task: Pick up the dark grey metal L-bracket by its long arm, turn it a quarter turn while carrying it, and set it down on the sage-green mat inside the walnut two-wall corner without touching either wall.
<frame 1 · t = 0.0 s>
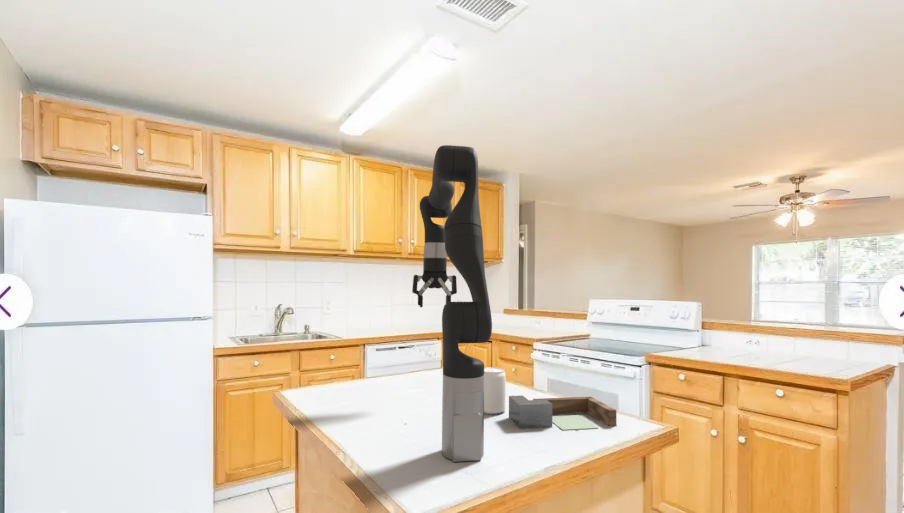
hand: (434, 307, 143), 29 cm above the counter, fingers open, 8 cm apart
bracket: (533, 425, 117), on the counter
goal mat: (571, 422, 120), on the counter
beverage can: (491, 411, 130), on the counter
wooden corner fixture: (573, 419, 123), on the counter
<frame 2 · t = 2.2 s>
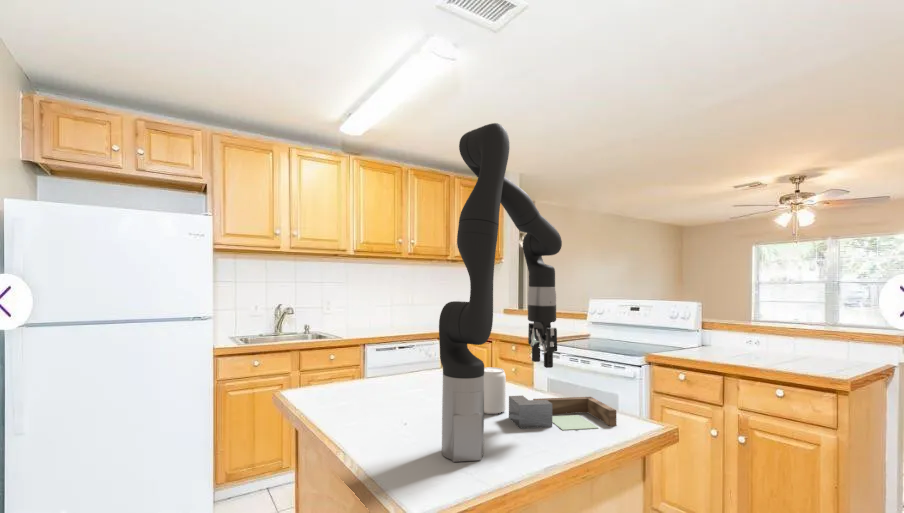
hand: (541, 364, 119), 16 cm above the counter, fingers open, 8 cm apart
nothing on the counter moved.
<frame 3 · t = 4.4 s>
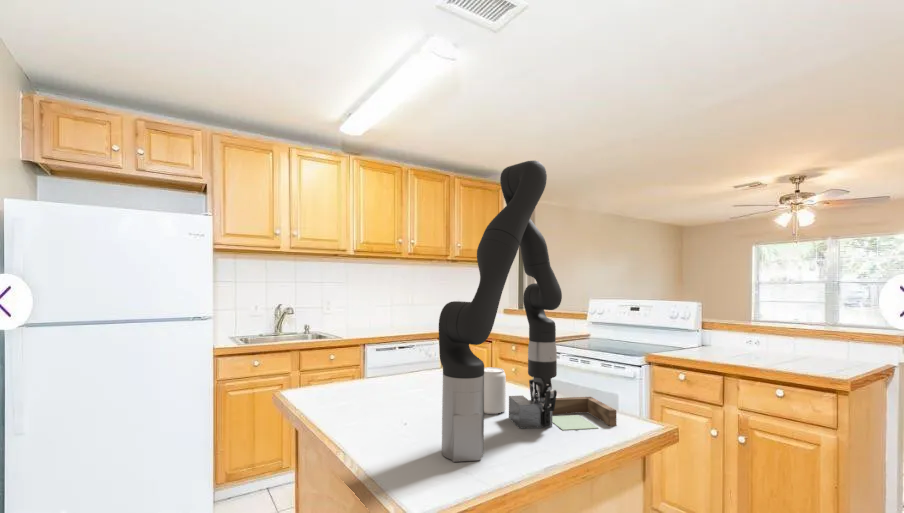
hand: (542, 422, 118), 0 cm above the counter, fingers closed on bracket, 4 cm apart
bracket: (533, 425, 117), on the counter, touching gripper
everything else where it was.
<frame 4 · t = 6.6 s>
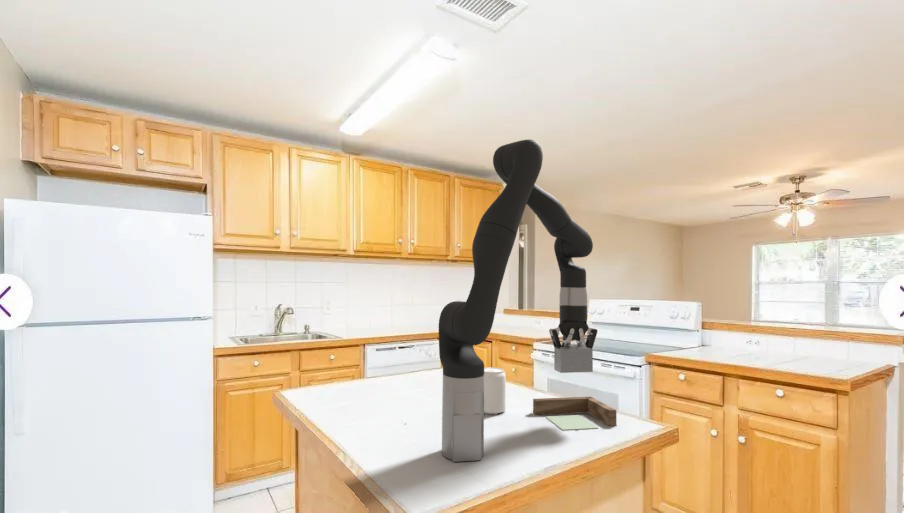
hand: (573, 365, 124), 15 cm above the counter, fingers closed on bracket, 4 cm apart
bracket: (577, 368, 121), point 14 cm above the counter, touching gripper
everything else where it was.
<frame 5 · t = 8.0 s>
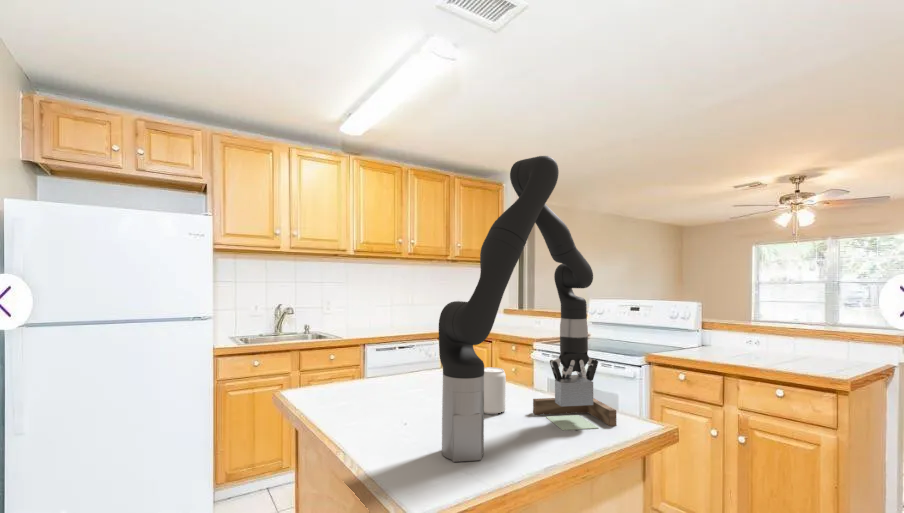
hand: (574, 396, 123), 6 cm above the counter, fingers closed on bracket, 4 cm apart
bracket: (578, 400, 121), point 6 cm above the counter, touching gripper
everything else where it was.
when the fingers open (2 cm above the counter, at t = 9.1 s): bracket drops 2 cm, resting on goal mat.
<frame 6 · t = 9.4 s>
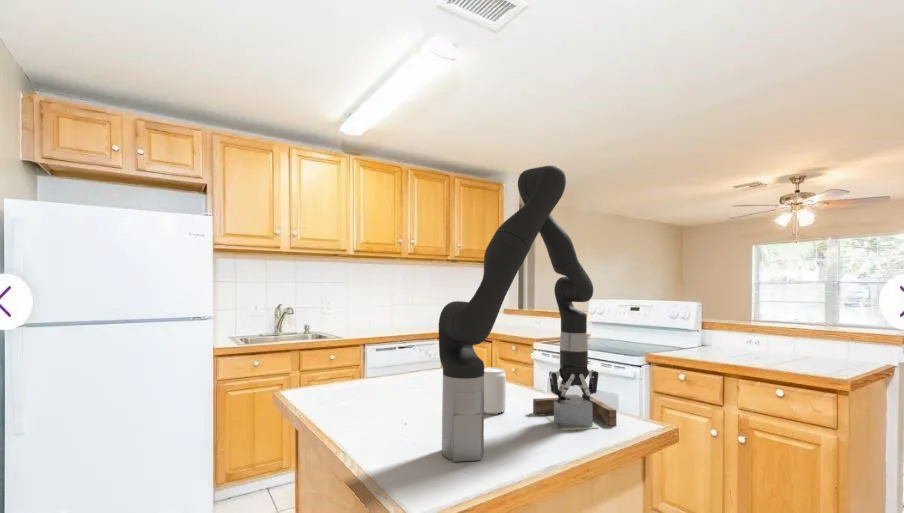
hand: (573, 409, 123), 3 cm above the counter, fingers open, 6 cm apart
bracket: (577, 421, 120), resting on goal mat
everything else where it was.
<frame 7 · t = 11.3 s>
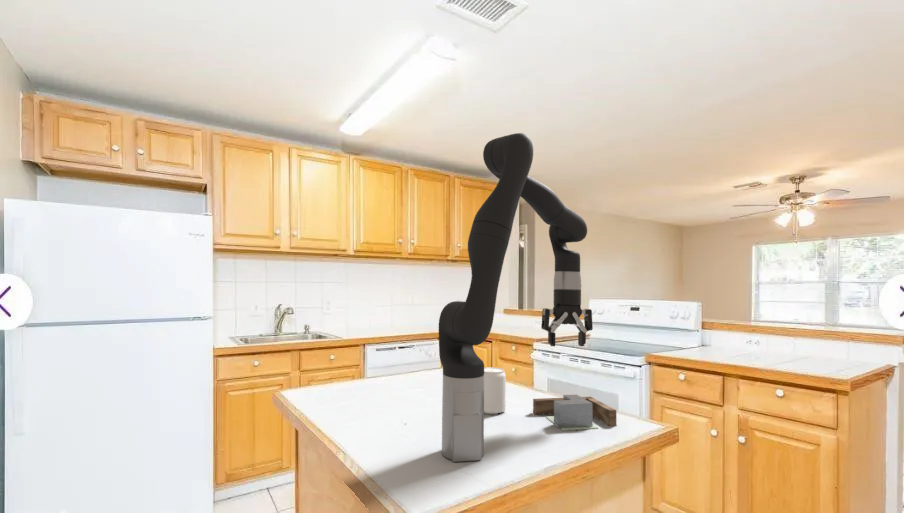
hand: (566, 346, 124), 20 cm above the counter, fingers open, 8 cm apart
nothing on the counter moved.
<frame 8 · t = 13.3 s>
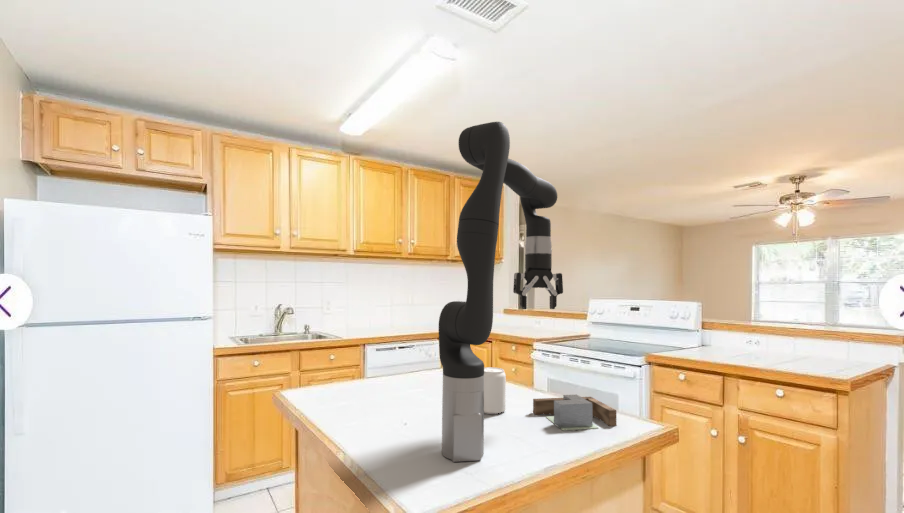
hand: (538, 309, 128), 30 cm above the counter, fingers open, 8 cm apart
nothing on the counter moved.
at the end: bracket inside the target area (0.1 cm from its centre), resting on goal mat; bracket touching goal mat; bracket tilted 0° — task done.
